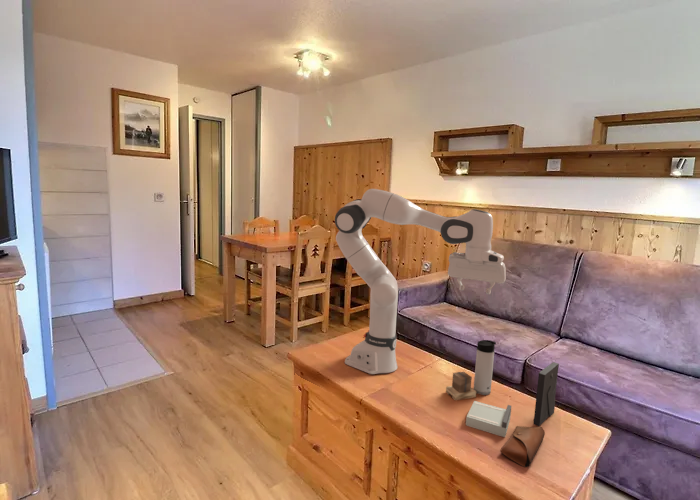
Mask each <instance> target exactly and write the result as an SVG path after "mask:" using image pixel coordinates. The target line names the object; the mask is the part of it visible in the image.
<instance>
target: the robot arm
mask: <svg viewBox="0 0 700 500" xmlns="http://www.w3.org/2000/svg"><path fill="white" fill-rule="evenodd" d="M372 218H376V219H379V220H381V221H384V222H387V223H389V224H393V225H399V226H403V225H404V226H405V225H406V226H407V225H417V226H421V227H425V228H427V229H430V230H433V231H436V232H437V233H440V235H441V236H440V237H441V238H442V240H444V242H446V243H447V244H450V245H459V244H465V252H452V253H450V254H449V256H448V263H449V265H448V270H447V275H448V276H449V277H450V278H456V281H457V283H458V285H459V287H458V289H459V291H465V287H466V285H465V284H463V282H462V280H463V279H465V280H472V281H481V282H488V283H489V288H488V287H487V288H486V289H485V294H486V295H491V291H492V288H493V287H494V286H495V284H504V283H505V282H506V280H507V268H506V264H505V262H503V261H504V260H505V257H504V255H503V254H501V253H498V252H496V251H494V250H492V243H491V242H492V237H493V234H494V233H493V231H494V217H493V216H492V214H491V213H490V212H488V211H485V210H481V209H475V208H473V209H470V210H469V211H467V212H466V213H463V214H461V215H458V216H444V215H441V214H438V213H435V212H432V211H429V210H426V209H424V208H423V207H420V206H419V205H417V204H416V203H414V202H412V201H411V200H409V199H408V198H405V197H403V196H401V195H399V194H397V193H393V192H391V191H387V190H384V189H383V190H382V189H378V188H369V189H367V190H366V191H365V192H364V193H363V195H362V197H361V198H359V199H358V198H357V199H354V200H353V201H350V202H347V203H346V204H344V206H343V207H341V208H339V209H338V210H337V212H336V213H335V216H334V224H335V227H336V228H337V230H338V231H337V233H336V236H335V242H336V243H337V245H338V248H339V249H340V251H341V252H342V255H343V256H344V257H345V260H346V261H347V262H348V263H349V265H350V266H351V267H352V269H353V270H354V272H355V273H356V274H357V275H358V276H359V277H360V278H361V279H362V280H363V281H364V282H365V283H366V284H367V286H368V287H369V288H370V294H369V295H370V299H369V304H370V305H369V326H368V331H367V332H365V333H364V334H363V335H362V336H363V337H362V338H364V340H362V341H361V342H359V343H357V344H356V345H354V346H353V347H352V349H351V352H350V354H349V355H348V356H347V357H345V360H344V364H345V365H347V366H349V367H352V368H355V369H357V370H360V371H362V372H365V373H368V374H369V375H375V374H389V373H392V372H395V371H396V370H397V369H398V362H397V358H396V357H397V356H396V347H397V334H396V330H397V314H398V304H399V302H398V300H399V285H398V281H397V279H396V277H395V276H394V275H393V274H392V272H391V271H390V270H389V268H388V267H387V266H386V265H385V264H384V263H383V262H382V260H381V259H380V258H379V256H378V255H377V253H376V252H375V251H374V249H373V248H372V246H371V245H370V243H369V242H368V241H367V240H366V238H365V237H364V236H363V232H362V231H363V230H362V229H364V228H365V227H366V226H367V225H368V223H369V222H370V220H371V219H372Z"/></svg>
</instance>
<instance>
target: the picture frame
mask: <svg viewBox="0 0 700 500" xmlns="http://www.w3.org/2000/svg"><path fill="white" fill-rule="evenodd" d="M559 366H560V365H559V363H558V362H551V363H550V364H549V365H547V366H546V367H545V368H543V369H542V370H541V371H540V372H539V373H538V375H537V376H538V378H537V388H536V396H535V406H534V416H533V425H535V426H537V427H541V426H542V425H543V423H544V422H545V421H546V420H547V419H548V418H550V417H552V415H553V414H555V408H556V391H557V383H558V375H559V374H558V373H559Z"/></svg>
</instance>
